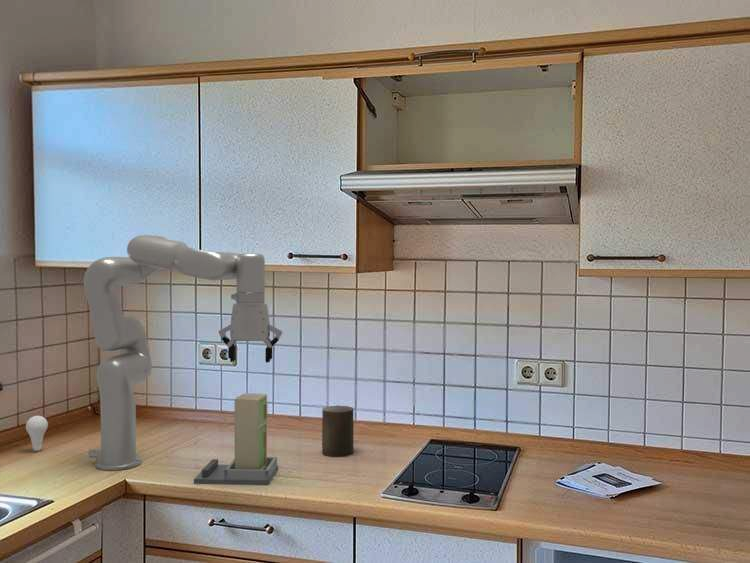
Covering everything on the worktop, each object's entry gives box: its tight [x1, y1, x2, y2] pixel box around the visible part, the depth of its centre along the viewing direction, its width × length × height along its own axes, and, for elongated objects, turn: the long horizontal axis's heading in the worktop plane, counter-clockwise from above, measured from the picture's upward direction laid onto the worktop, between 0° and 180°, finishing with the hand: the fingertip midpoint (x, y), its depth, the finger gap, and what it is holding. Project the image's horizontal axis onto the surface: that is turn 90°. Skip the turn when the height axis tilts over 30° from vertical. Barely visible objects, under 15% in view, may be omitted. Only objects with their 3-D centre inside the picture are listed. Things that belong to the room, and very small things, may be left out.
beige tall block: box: [234, 392, 268, 470], centre depth 190 cm, size 8×7×21 cm
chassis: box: [193, 456, 279, 486], centre depth 190 cm, size 20×13×4 cm, turn 87°
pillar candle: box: [321, 404, 355, 458], centre depth 214 cm, size 10×10×15 cm
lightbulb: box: [25, 415, 49, 452], centre depth 215 cm, size 6×6×11 cm
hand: (250, 361), depth 189 cm, fingers open, 9 cm apart
